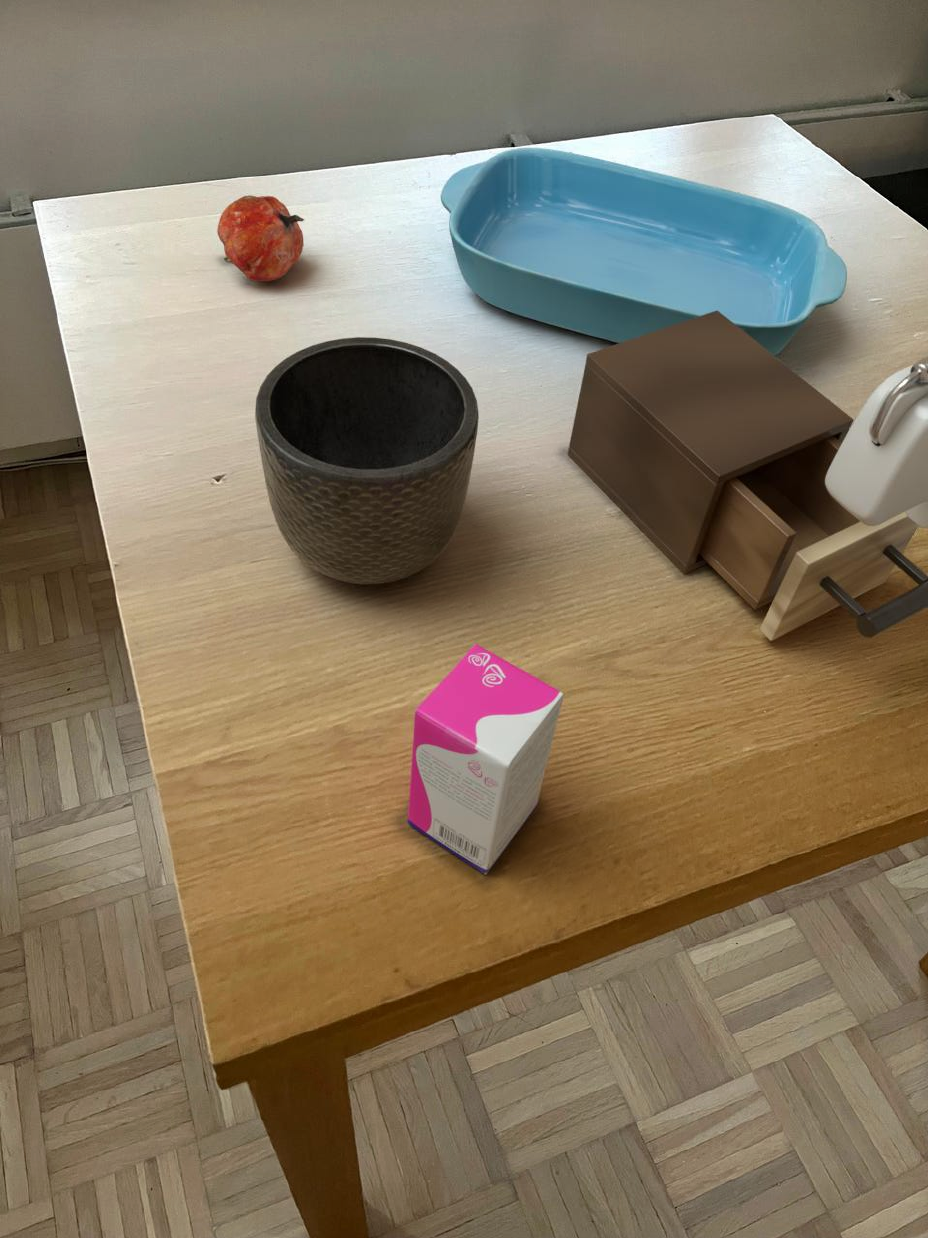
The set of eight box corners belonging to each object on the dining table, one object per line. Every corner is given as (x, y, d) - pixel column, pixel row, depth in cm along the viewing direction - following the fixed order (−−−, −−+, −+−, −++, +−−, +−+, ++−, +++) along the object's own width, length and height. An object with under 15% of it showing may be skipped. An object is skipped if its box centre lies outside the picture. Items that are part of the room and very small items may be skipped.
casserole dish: (831, 280, 101) (858, 211, 95) (809, 415, 87) (839, 344, 81) (476, 196, 106) (482, 126, 100) (402, 310, 92) (404, 238, 86)
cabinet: (808, 516, 79) (854, 419, 71) (684, 574, 74) (719, 476, 66) (687, 408, 86) (717, 309, 79) (567, 454, 81) (587, 353, 74)
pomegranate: (218, 308, 94) (288, 275, 87) (176, 231, 91) (245, 191, 85) (269, 279, 99) (339, 247, 92) (231, 205, 96) (300, 166, 89)
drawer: (938, 629, 71) (991, 552, 65) (822, 694, 67) (867, 618, 61) (759, 468, 80) (791, 389, 74) (647, 516, 76) (671, 436, 70)
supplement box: (540, 803, 61) (569, 692, 52) (485, 878, 58) (507, 773, 49) (460, 753, 63) (475, 638, 54) (403, 823, 60) (409, 712, 51)
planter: (281, 473, 77) (269, 328, 67) (465, 483, 78) (479, 341, 68) (257, 614, 69) (238, 471, 59) (464, 625, 69) (480, 485, 59)
